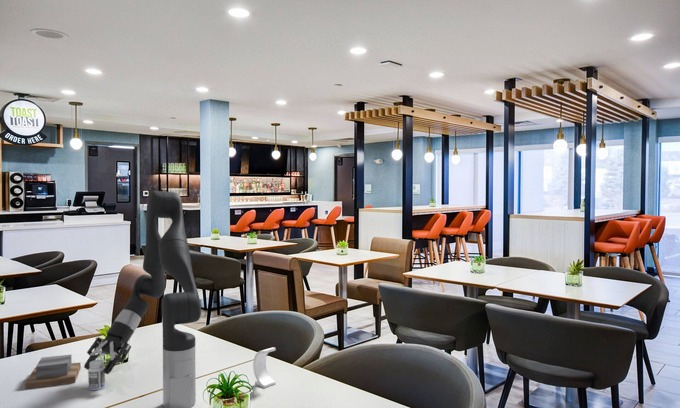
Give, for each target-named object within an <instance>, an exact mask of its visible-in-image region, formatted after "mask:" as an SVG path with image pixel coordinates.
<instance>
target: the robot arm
mask: <svg viewBox="0 0 680 408" xmlns="http://www.w3.org/2000/svg"><path fill="white" fill-rule="evenodd" d="M146 201H147V203H146V217H145V218H146V221H145V247H144V248H145V249H144V256H143V262H142V269H143V271H144V272H145V273H147V274H141V275H139V276H138V277H137V278H136V280H135V282H134V284H133V288H132V292H131V294H130V296H129V298H128V301H127V302H126V304H125V305H124V307H123V308H122V310H121V311H120V312H119V314H118V315H117V317H116V318H115V319H114V321H113V322H112V324H111V325H110V327H109V329H108V330H107V331H106V337H105V338H104V339H102V338H101V337H100V336H99V337H97V338H96V339H95V341H94V342H93V343H92V345H90V347H89V349H88V350H87V351H86V353H87V354H88V355H89V357H88V359H87V360H86V361H85V363H84V366H83V368H84V369H85V370H89V368H90V366H89V365H90V362H91V361H94V360H98V359H99V358H100V357H103V356H105V355H110V360H109V361H108V362H107V364H106V365H105V366H104V367H105V368H104V370H103V372H104V373H105V375H109V374H110V373H111V372H112V371H113V369H114V368H115V366H116V365H117V364H118V363H121V364H122V363H123V362H125V359H126V357H127V355H128V353H129V352H130V350H131V348H132V345H130V344H129V341H130V339H131V338H132V336H133V334H134V333H135V331H136V330H137V328H138V326H139V324H140V322H141V321H142V318H143V317H144V316H145V314H146V313H147V310H148V309H149V303H148V302H147V300H145V299H144V298H143V297H142V296H145V297H146V296H147V297H150V298H153V299H159V298H161V297H162V296H163V297H162V299H161V318H162V319H161V320H162V407H163V408H193V407H192V406H194V405H195V404H196V400H197V399H196V395H197V394H196V390H197V389H196V388H197V387H196V336H195V335H194V334H193V333H191V332H187V331H181V330H179V329H177V328H176V325H183V324H190V323H191V324H192V323H196V322H198V321H199V320H200V318H201V316H202V305H201V300H200V299H201V298H200V295H199V291H198V288H197V283H196V280H195V277H194V273H193V266H192V259H191V254H190V253H191V252H190V247H189V243H188V239H187V234H186V229H185V222H184V221H185V220H184V212H183V211H184V208H183V201H182V196H180V194H179V193H177V192H174V191H173V192H172V191H163V190H162V191H161V190H152V191H151V192H150V193H149V194H148V197H147V200H146ZM157 219H169V220H171V224H170V225H169V227H168V229H167V230H166V231H165V233H164V234H163V236H161V234H160V232H159V230H158V227H157ZM165 271H166V272H167V273H168V274H169V275H170V276H171V277H172V278H174V279H175V280H176V282H177V283H178V284H179V285H180V287H181V289H182V290H183V291H181V292H180V291H177V292H170V293H165V291H166V284H167V283H166V277H165ZM164 293H165V294H164Z"/></svg>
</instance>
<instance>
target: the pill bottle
mask: <svg viewBox="0 0 680 408" xmlns="http://www.w3.org/2000/svg"><path fill="white" fill-rule="evenodd" d="M89 366H90V368H89V370H88V371H87V373H88V375H87V376H88V390H89V391H98V390H101V389H104V388H105V387H106V373H104V372H103V370H104V368H105V367H106V366H104V360H103V359H96V360H94V361H91V362H90V365H89Z"/></svg>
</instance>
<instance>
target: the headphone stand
mask: <svg viewBox="0 0 680 408" xmlns="http://www.w3.org/2000/svg"><path fill="white" fill-rule="evenodd" d="M276 350H277V349H276V347H270V348H266V349H263V350H258V352H256V354H255V355H254V358H253V362H252V363H253V364H252V367H253V369H252V370H253V373H254V376H255V379H256V380H255V381H254V385H257V386H259V387H262V388H264V389H265V388H269V387H271V386H274V385H276V383H277V382H276V381H275V379H273V378H272V377H271V376H270V374H269V372H268V369H267V356H268V354H269V353H271V352H275V351H276Z"/></svg>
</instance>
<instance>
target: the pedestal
mask: <svg viewBox="0 0 680 408" xmlns="http://www.w3.org/2000/svg"><path fill="white" fill-rule="evenodd" d="M72 362H73V361H72V354H64V355H54V356H53V355H52V356H45V357H41V358H40V360H39V361H38V363H37V364H36V366H35V367H34V368H33V370H32V371H31V373H30V374H29V376H28V378H27V379H26V381H25V382H24V383H25V389H26V390H27V389H35V388H42V387H51V386H59V385H67V384H75V383H76V381H77V379H78V376H79V374H80V371H81V362H74V363H72Z"/></svg>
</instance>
